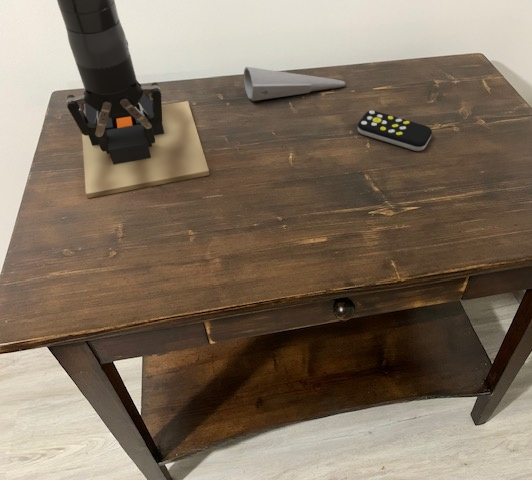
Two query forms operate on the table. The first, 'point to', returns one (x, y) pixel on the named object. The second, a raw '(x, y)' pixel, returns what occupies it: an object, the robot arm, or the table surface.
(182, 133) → the board
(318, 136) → the table surface
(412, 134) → the remote control
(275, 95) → the long tapered cone
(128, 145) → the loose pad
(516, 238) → the table surface
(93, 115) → the dark grey u-shaped block
